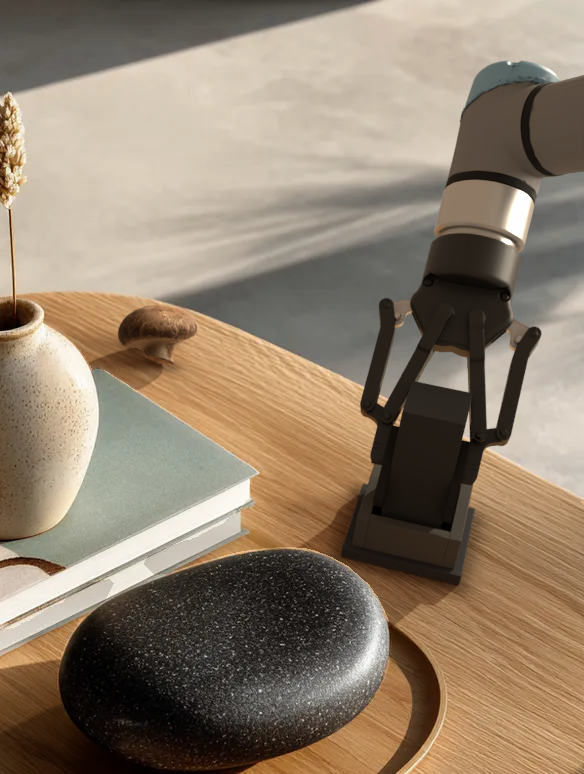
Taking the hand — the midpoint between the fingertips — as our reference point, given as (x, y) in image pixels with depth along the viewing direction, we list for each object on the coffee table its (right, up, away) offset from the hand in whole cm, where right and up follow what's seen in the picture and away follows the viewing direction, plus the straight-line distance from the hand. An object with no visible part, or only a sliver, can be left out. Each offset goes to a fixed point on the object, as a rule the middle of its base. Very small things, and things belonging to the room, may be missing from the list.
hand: (412, 511), depth 110 cm
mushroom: (-20, +16, +29) cm, 39 cm away
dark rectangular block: (+1, -1, +5) cm, 5 cm away
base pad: (+1, -2, +6) cm, 7 cm away
